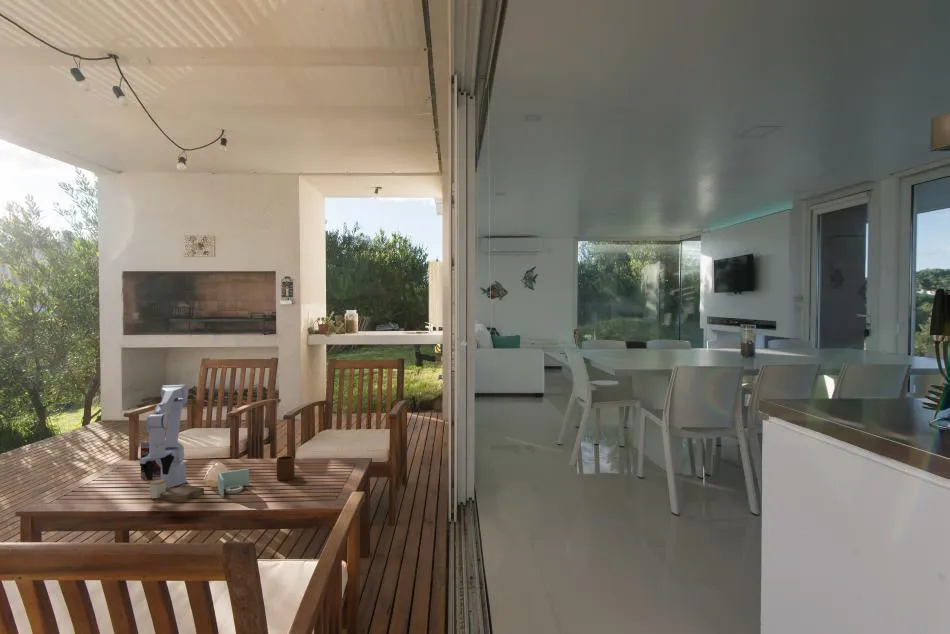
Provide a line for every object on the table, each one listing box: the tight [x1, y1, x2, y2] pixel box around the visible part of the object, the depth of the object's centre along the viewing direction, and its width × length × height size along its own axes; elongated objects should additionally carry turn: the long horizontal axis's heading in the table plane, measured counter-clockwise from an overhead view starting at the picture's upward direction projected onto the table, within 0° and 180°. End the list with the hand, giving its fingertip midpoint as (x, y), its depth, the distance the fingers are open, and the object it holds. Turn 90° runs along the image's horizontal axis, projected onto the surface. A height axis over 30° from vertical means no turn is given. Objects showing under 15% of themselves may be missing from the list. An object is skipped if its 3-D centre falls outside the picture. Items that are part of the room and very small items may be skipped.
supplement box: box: [140, 440, 161, 478], centre depth 245 cm, size 9×5×16 cm, turn 100°
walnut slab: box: [159, 484, 205, 503], centre depth 214 cm, size 11×11×3 cm
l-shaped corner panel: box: [217, 468, 250, 498], centre depth 221 cm, size 12×12×8 cm
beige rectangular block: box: [148, 478, 167, 499], centre depth 214 cm, size 4×4×6 cm
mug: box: [276, 454, 296, 482], centre depth 238 cm, size 12×8×9 cm, turn 3°
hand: (157, 476), depth 214 cm, fingers open, 7 cm apart
